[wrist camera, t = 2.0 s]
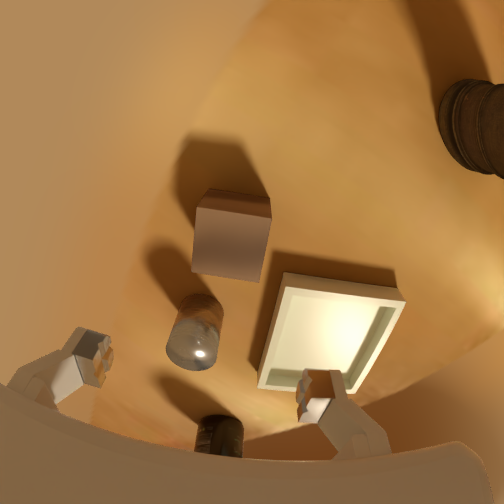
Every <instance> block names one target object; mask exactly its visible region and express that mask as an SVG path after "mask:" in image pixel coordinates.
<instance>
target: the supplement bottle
mask: <svg viewBox="0 0 504 504" xmlns="http://www.w3.org/2000/svg"><path fill="white" fill-rule="evenodd" d="M243 439H244V428H243V425H242V424H241V423H240V422H239V421H238V420H236V419H234V418H231V417H228V416H222V415H212V416H207V417H205V418H203V419H202V420H201V421H200V422H199V425H198V430H197V436H196V442H195V448H194V452H199V453H205V454H212V455H219V456H228V457H237V458H242V455H243Z"/></svg>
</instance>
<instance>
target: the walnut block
mask: <svg viewBox="0 0 504 504" xmlns="http://www.w3.org/2000/svg"><path fill="white" fill-rule="evenodd" d="M271 221H272V215H271V205H270V198H266V197H260V196H254V195H248V194H242V193H235V192H229V191H222V190H215V189H208V191H207V192H206V194H205V195H204V197H203V198H202V200H201V201H200V203H199V204H198V206H197V210H196V220H195V231H194V243H193V255H192V268H191V272H194V273H200V274H206V275H213V276H219V277H225V278H231V279H238V280H244V281H251V282H258V283H259V280H260V275H261V270H262V265H263V260H264V256H265V251H266V246H267V241H268V236H269V231H270V226H271Z"/></svg>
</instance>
